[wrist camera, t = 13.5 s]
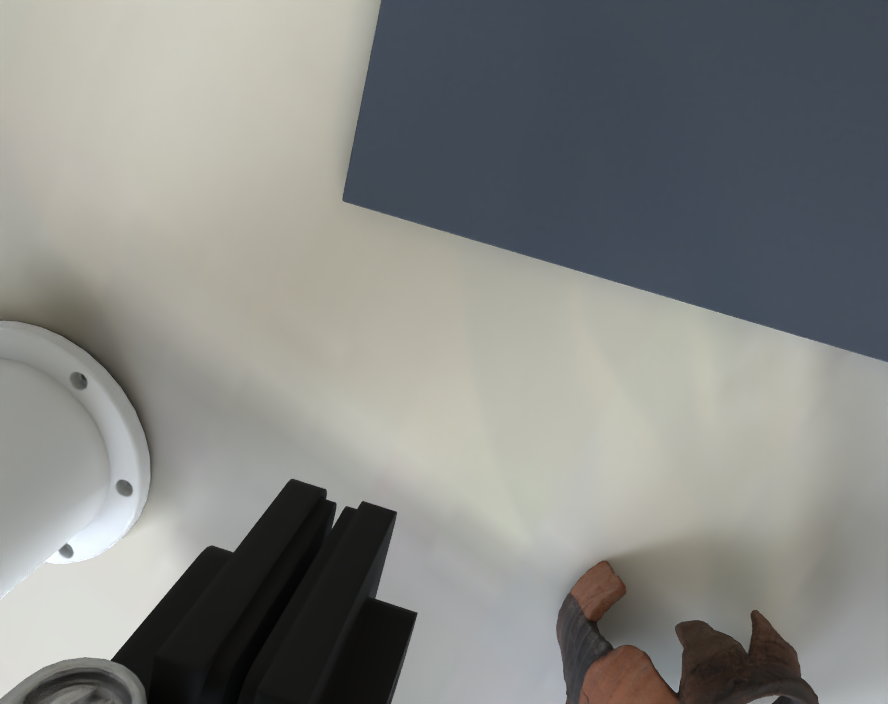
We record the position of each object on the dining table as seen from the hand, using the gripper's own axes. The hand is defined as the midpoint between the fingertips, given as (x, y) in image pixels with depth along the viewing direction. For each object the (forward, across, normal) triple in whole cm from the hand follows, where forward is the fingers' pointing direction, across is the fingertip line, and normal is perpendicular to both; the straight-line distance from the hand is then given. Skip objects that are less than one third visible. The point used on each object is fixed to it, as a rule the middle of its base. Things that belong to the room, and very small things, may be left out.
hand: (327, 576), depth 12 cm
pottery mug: (+21, -12, +15) cm, 28 cm away
